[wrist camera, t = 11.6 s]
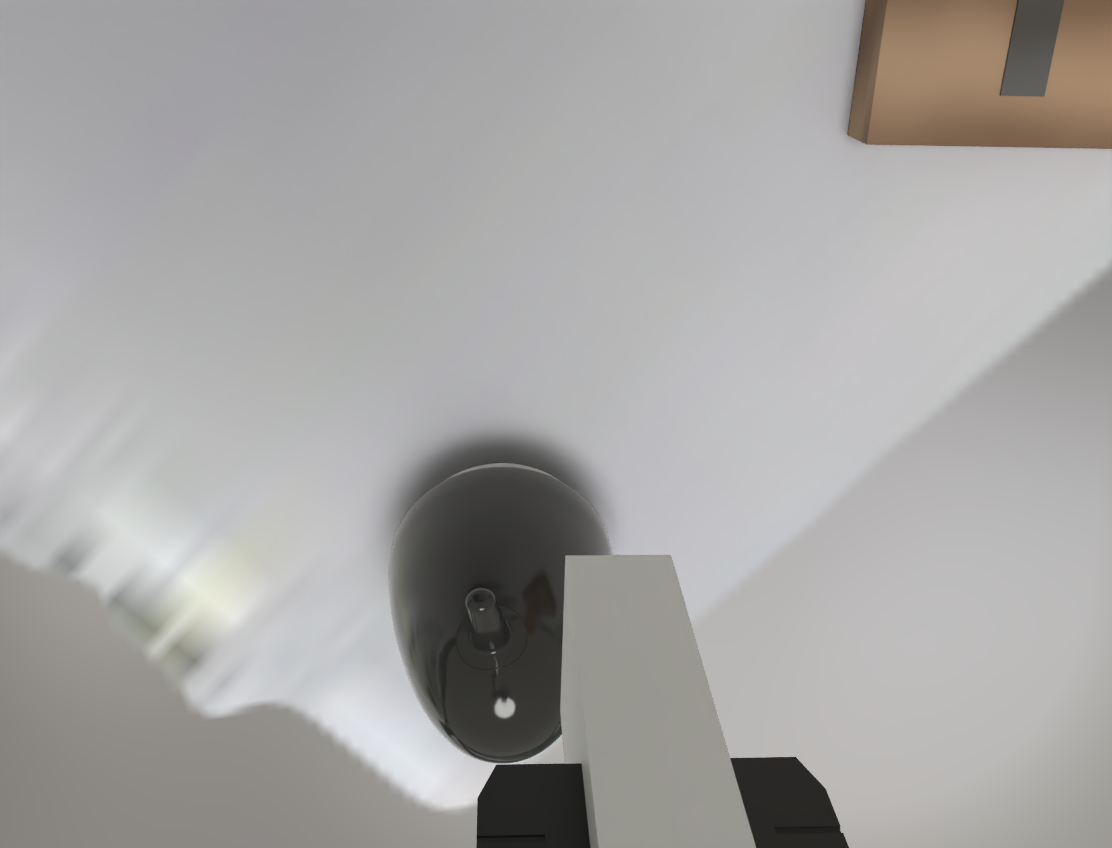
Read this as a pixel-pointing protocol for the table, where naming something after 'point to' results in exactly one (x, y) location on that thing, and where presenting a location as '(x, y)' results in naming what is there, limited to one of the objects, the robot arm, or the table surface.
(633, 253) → the table surface
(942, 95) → the fader board
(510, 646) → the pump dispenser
